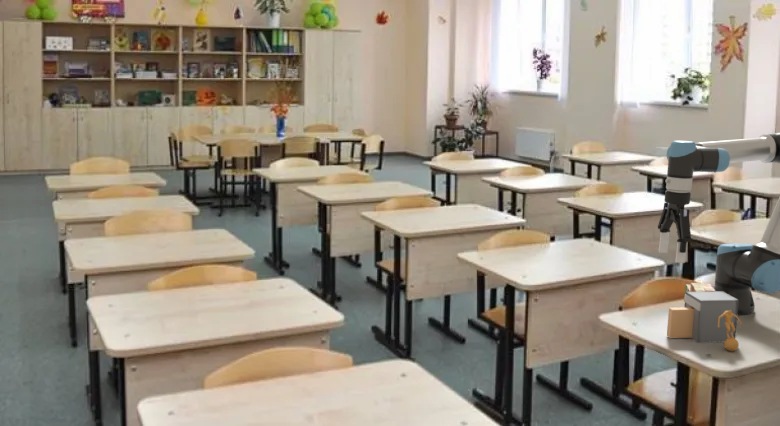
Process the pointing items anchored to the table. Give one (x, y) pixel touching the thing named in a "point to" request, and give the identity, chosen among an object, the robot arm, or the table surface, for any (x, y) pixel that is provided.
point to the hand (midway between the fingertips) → (671, 257)
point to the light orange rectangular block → (680, 322)
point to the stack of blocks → (698, 287)
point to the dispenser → (711, 315)
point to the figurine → (729, 343)
